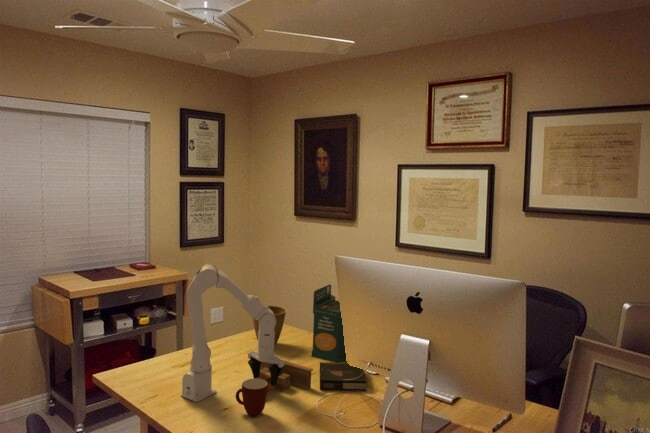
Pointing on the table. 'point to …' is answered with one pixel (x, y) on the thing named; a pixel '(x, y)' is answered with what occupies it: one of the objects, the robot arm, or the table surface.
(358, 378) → the portable cd player
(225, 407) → the table surface
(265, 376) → the brown boxy piece
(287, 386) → the board
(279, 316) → the plant pot
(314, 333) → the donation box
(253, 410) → the mug
